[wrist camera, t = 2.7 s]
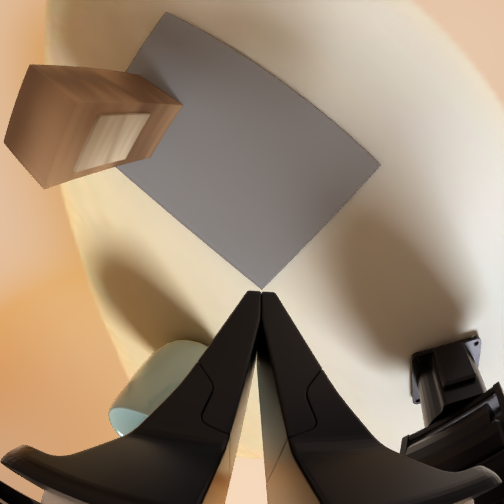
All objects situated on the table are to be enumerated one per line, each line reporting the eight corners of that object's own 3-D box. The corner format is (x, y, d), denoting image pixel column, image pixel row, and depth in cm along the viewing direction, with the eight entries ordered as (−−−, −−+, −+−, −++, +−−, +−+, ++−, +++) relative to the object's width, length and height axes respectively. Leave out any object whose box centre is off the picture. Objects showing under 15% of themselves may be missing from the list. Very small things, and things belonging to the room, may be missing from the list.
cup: (157, 318, 27) (95, 392, 18) (239, 336, 26) (195, 430, 17) (166, 376, 30) (121, 447, 21) (237, 395, 29) (204, 477, 20)
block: (185, 106, 19) (79, 105, 10) (152, 159, 21) (46, 191, 12) (139, 74, 18) (29, 64, 10) (110, 125, 20) (3, 142, 12)
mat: (379, 164, 18) (380, 164, 17) (263, 287, 23) (261, 289, 23) (168, 13, 16) (166, 11, 16) (92, 143, 22) (88, 143, 21)
